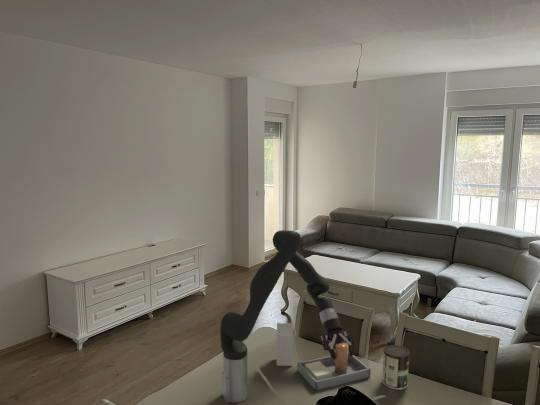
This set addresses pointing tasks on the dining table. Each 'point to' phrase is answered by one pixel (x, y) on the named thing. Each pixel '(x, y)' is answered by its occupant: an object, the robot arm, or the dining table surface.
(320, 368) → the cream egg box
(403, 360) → the coffee can
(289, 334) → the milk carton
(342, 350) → the terracotta jar
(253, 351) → the dining table surface
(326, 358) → the tray
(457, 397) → the dining table surface
